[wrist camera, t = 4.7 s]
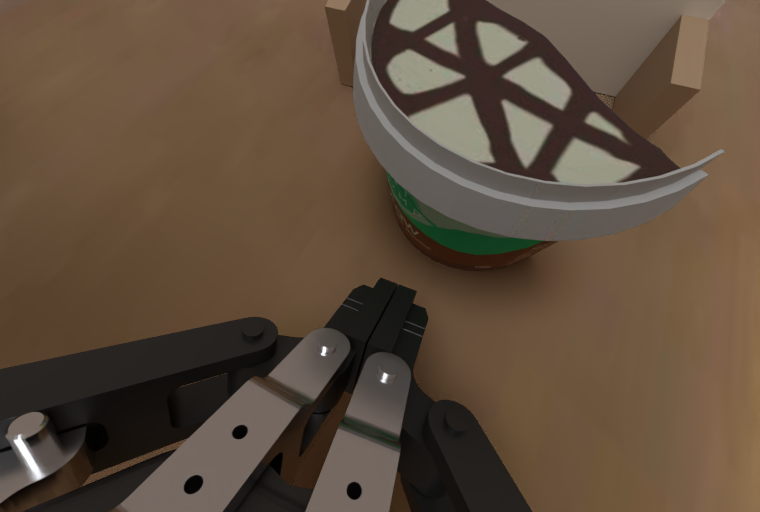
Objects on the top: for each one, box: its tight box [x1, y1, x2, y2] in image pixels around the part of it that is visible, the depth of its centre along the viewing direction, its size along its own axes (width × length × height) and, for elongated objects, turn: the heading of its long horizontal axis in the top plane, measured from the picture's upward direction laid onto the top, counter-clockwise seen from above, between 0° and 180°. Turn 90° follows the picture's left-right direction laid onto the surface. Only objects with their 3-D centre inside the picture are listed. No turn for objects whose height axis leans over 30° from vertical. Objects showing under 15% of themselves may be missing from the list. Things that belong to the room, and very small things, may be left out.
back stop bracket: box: [325, 0, 727, 139], centre depth 18 cm, size 18×6×6 cm, turn 68°
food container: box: [353, 0, 725, 271], centre depth 13 cm, size 12×6×10 cm, turn 32°
